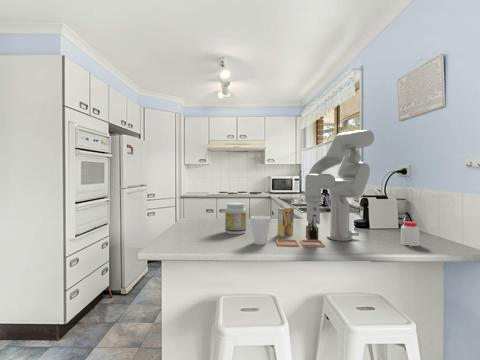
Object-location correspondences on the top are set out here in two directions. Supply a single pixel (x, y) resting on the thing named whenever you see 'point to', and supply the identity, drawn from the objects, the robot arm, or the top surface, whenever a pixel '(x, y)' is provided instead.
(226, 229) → the supplement tub
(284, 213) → the candy box
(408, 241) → the pill bottle
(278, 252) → the top surface
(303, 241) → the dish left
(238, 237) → the top surface
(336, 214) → the robot arm
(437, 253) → the top surface
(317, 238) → the letter block
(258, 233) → the cup
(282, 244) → the dish middle
